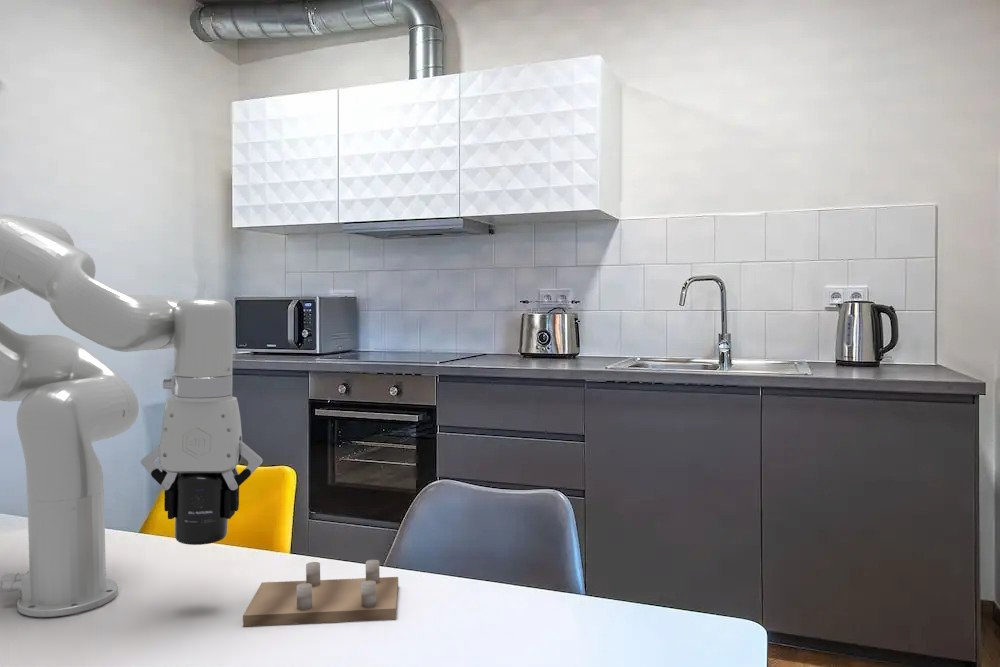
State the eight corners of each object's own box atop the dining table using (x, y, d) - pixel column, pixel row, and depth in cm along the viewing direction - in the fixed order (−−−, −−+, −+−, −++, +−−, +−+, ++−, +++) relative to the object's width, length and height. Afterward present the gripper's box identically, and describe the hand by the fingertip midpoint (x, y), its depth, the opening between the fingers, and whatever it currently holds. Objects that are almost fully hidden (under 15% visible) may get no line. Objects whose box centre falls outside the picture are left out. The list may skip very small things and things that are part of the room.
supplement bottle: (192, 549, 100) (193, 459, 100) (165, 538, 104) (165, 452, 104) (238, 537, 106) (238, 452, 105) (210, 527, 110) (211, 445, 109)
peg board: (243, 626, 100) (242, 593, 100) (261, 592, 112) (261, 562, 112) (396, 619, 102) (395, 586, 102) (398, 586, 114) (398, 557, 114)
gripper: (126, 390, 100) (126, 524, 100) (262, 392, 101) (260, 524, 102) (147, 384, 107) (146, 509, 108) (273, 386, 109) (271, 508, 110)
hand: (202, 515), depth 105 cm, fingers closed on supplement bottle, 6 cm apart
